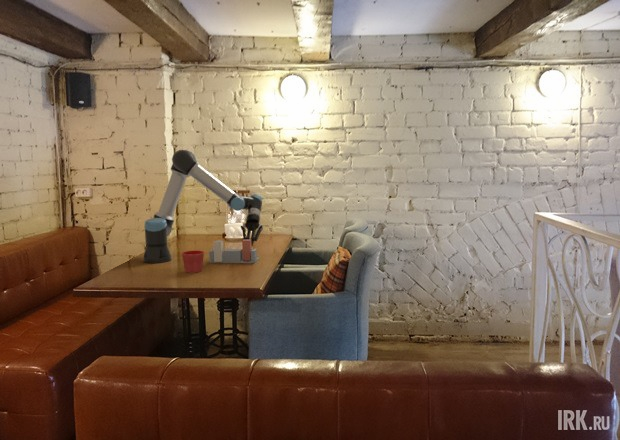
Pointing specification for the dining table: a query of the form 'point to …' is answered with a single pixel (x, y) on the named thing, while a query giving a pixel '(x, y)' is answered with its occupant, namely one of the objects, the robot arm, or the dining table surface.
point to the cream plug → (218, 251)
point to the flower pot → (193, 261)
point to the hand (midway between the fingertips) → (248, 250)
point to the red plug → (246, 249)
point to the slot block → (234, 256)
